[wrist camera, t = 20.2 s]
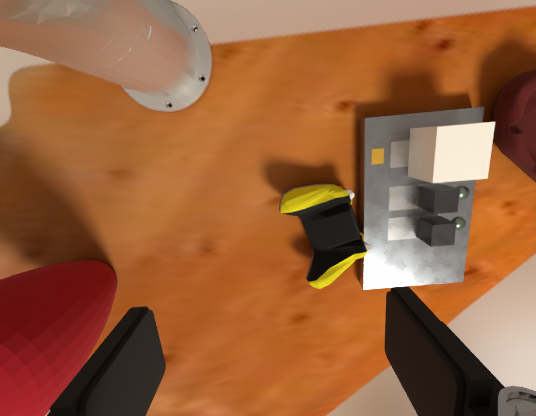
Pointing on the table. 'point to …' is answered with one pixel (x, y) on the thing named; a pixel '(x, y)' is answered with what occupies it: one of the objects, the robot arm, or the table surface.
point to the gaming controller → (326, 229)
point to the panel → (410, 206)
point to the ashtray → (518, 122)
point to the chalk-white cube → (450, 152)
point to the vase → (49, 330)
